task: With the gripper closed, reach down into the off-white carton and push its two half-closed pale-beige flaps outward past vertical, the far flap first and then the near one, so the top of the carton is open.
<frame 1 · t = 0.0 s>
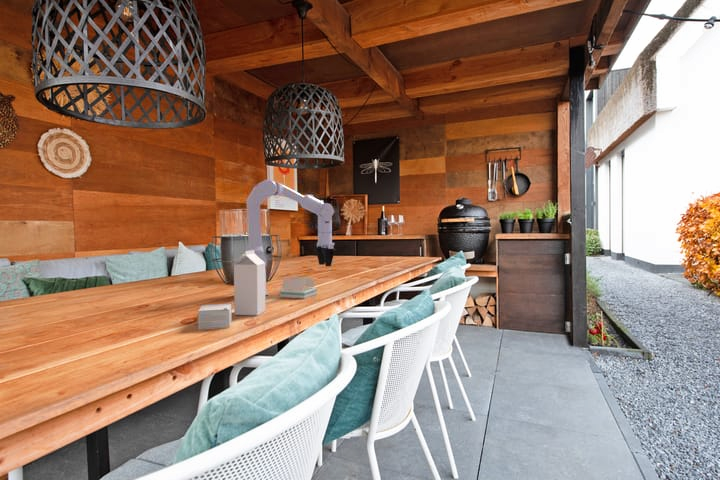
hand: (324, 265, 165), 10 cm above the table, fingers open, 7 cm apart
milk carton: (250, 313, 121), on the table
carton: (298, 295, 151), on the table
flap near: (293, 284, 147), point 5 cm above the table, hinge at -28.0°
small box: (215, 326, 106), on the table
flap far: (303, 281, 154), point 5 cm above the table, hinge at -28.0°
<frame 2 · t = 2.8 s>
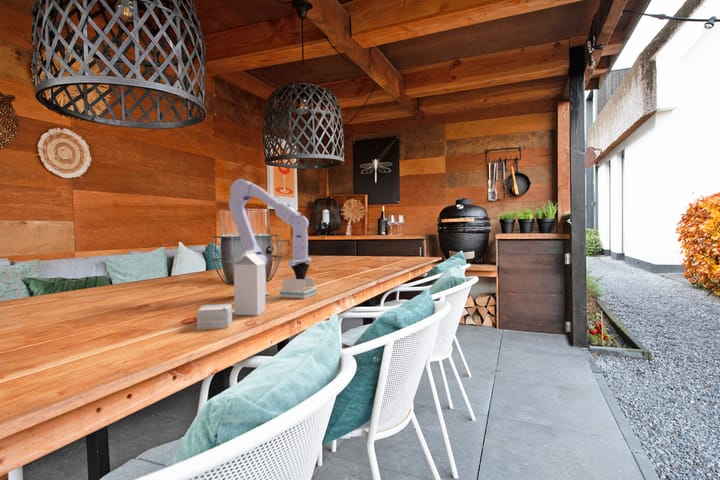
hand: (300, 283, 152), 5 cm above the table, fingers closed
flap far: (303, 281, 154), point 5 cm above the table, hinge at -28.0°, touching gripper
everything else where it was.
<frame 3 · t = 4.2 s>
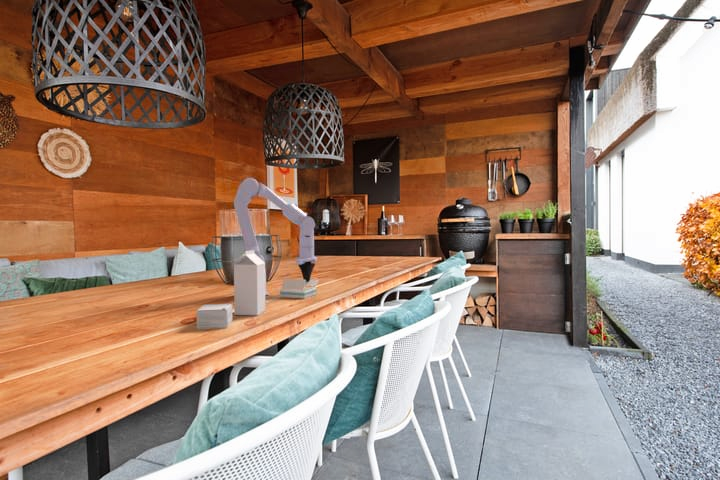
hand: (306, 281, 157), 5 cm above the table, fingers closed, pressing on flap far
flap far: (306, 282, 157), point 4 cm above the table, hinge at 58.8°, touching gripper
everything else where it was.
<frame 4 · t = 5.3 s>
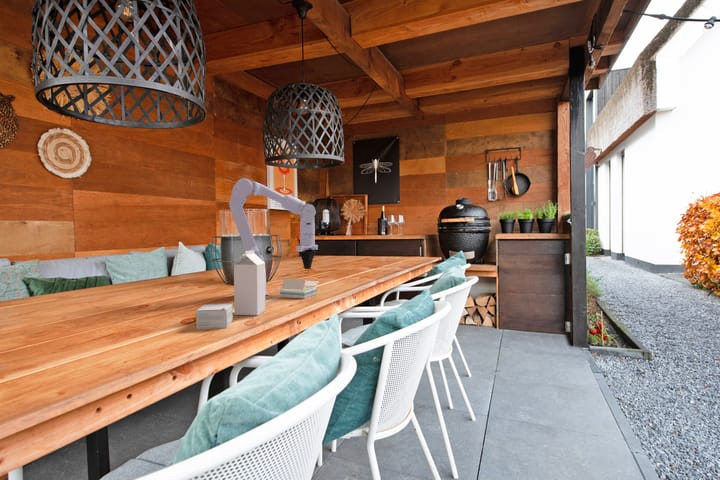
hand: (307, 268, 158), 9 cm above the table, fingers closed
flap far: (306, 283, 157), point 4 cm above the table, hinge at 70.5°
everything else where it was.
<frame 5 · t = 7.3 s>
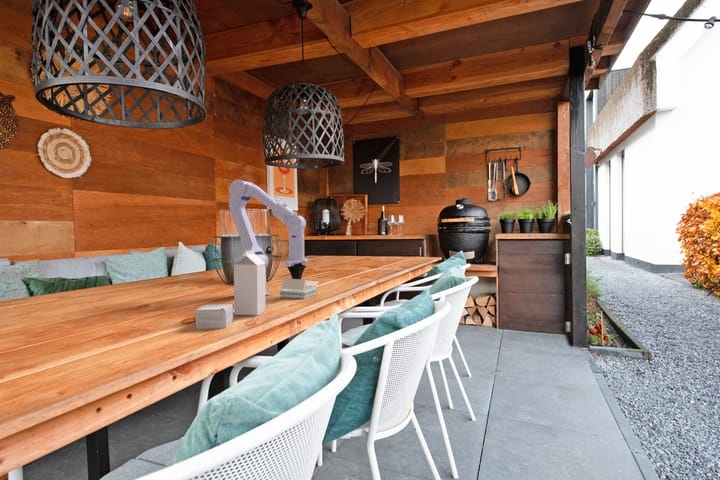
hand: (296, 284, 149), 5 cm above the table, fingers closed
flap near: (293, 284, 147), point 5 cm above the table, hinge at -28.0°, touching gripper
flap far: (306, 283, 157), point 4 cm above the table, hinge at 70.9°
everything else where it was.
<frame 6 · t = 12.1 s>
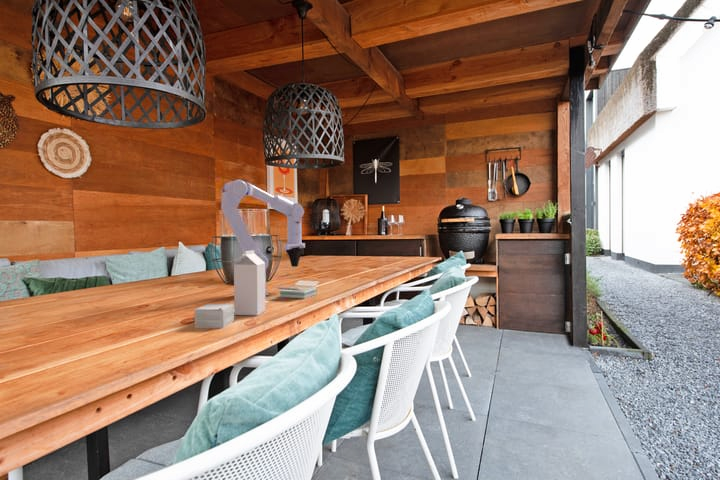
hand: (294, 266, 162), 10 cm above the table, fingers closed
flap near: (289, 288, 144), point 4 cm above the table, hinge at 71.3°
at the end: flap far at +71° (first picture: -28°); flap near at +71° (first picture: -28°) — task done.
